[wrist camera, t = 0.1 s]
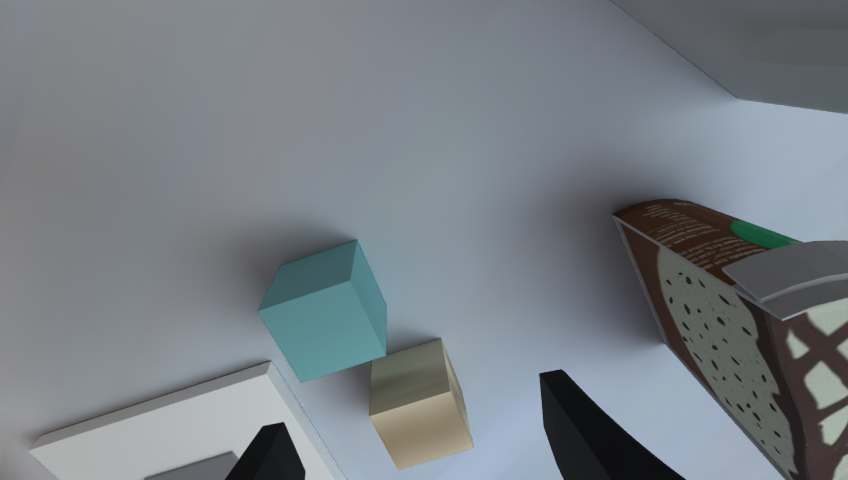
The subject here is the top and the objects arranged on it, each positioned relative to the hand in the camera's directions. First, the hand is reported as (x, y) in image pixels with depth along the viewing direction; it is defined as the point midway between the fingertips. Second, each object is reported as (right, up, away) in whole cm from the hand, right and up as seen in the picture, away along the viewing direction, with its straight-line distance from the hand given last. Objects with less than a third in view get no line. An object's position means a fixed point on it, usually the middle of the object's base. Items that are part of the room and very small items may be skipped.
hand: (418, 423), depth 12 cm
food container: (+14, +4, +10) cm, 18 cm away
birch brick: (0, -3, +12) cm, 12 cm away
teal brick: (-4, +3, +9) cm, 11 cm away
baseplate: (-12, -10, +14) cm, 21 cm away
